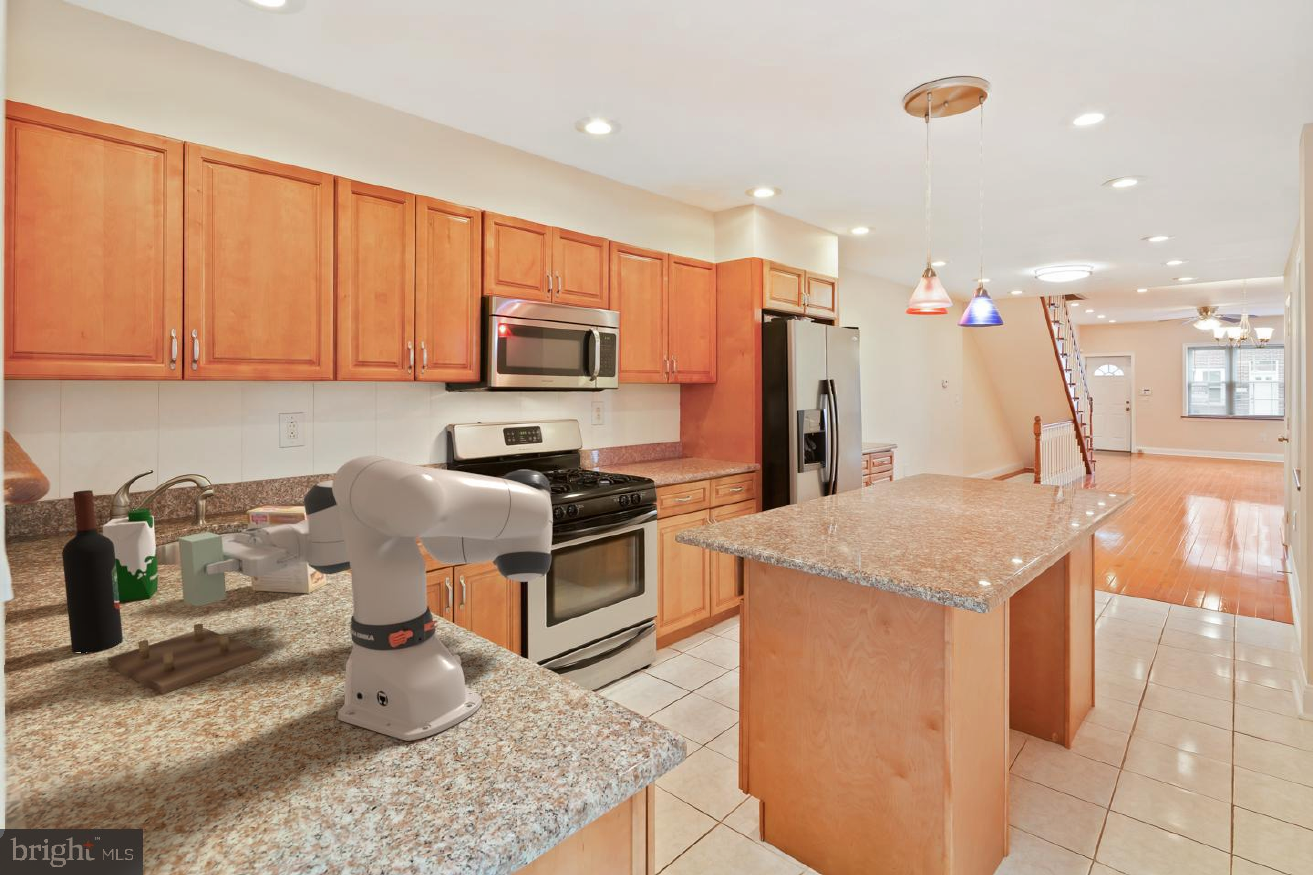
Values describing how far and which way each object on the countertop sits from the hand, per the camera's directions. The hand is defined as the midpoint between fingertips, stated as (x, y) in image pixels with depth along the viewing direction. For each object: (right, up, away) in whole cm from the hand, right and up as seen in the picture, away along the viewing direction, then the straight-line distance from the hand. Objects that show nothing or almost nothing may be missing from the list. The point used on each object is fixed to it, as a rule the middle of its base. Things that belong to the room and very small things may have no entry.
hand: (196, 566), depth 124 cm
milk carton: (-37, -13, +33) cm, 52 cm away
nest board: (-2, -17, -1) cm, 17 cm away
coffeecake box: (-4, -13, +39) cm, 42 cm away
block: (0, -6, +2) cm, 7 cm away
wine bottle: (-23, -17, +6) cm, 29 cm away
